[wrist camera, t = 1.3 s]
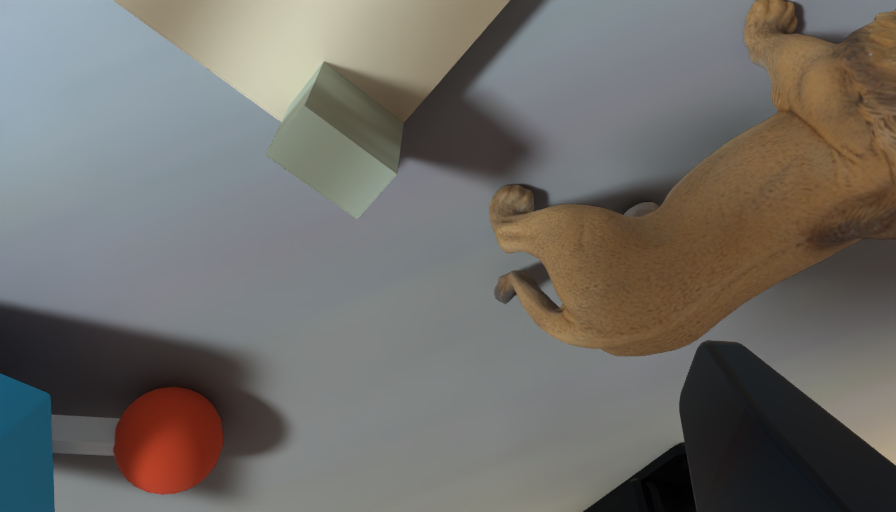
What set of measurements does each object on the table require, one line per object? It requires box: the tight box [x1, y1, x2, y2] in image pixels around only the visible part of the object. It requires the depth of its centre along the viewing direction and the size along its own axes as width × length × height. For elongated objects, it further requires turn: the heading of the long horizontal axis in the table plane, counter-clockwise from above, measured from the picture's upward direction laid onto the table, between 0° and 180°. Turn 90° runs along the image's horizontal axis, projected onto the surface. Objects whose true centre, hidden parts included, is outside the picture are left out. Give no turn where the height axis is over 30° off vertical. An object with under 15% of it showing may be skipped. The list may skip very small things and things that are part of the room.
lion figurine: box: [490, 0, 896, 356], centre depth 17 cm, size 15×5×9 cm, turn 138°
